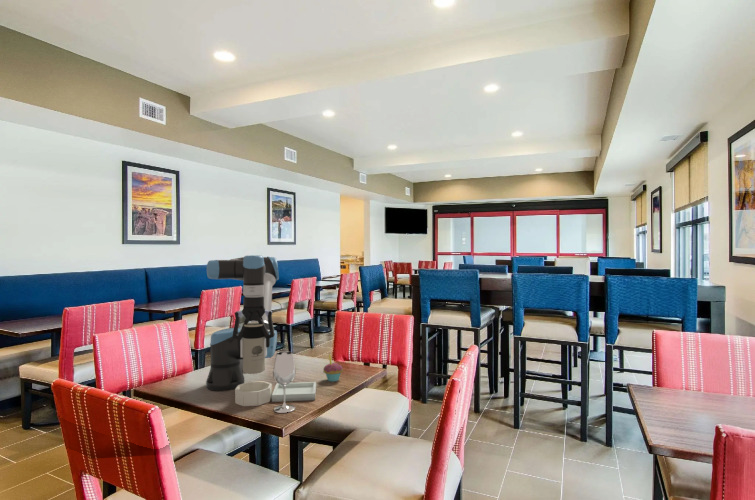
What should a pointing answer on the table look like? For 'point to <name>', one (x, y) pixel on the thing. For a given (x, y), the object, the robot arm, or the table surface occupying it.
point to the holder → (253, 393)
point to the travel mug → (253, 348)
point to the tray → (295, 392)
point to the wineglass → (284, 376)
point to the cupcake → (333, 370)
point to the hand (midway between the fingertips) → (253, 356)
